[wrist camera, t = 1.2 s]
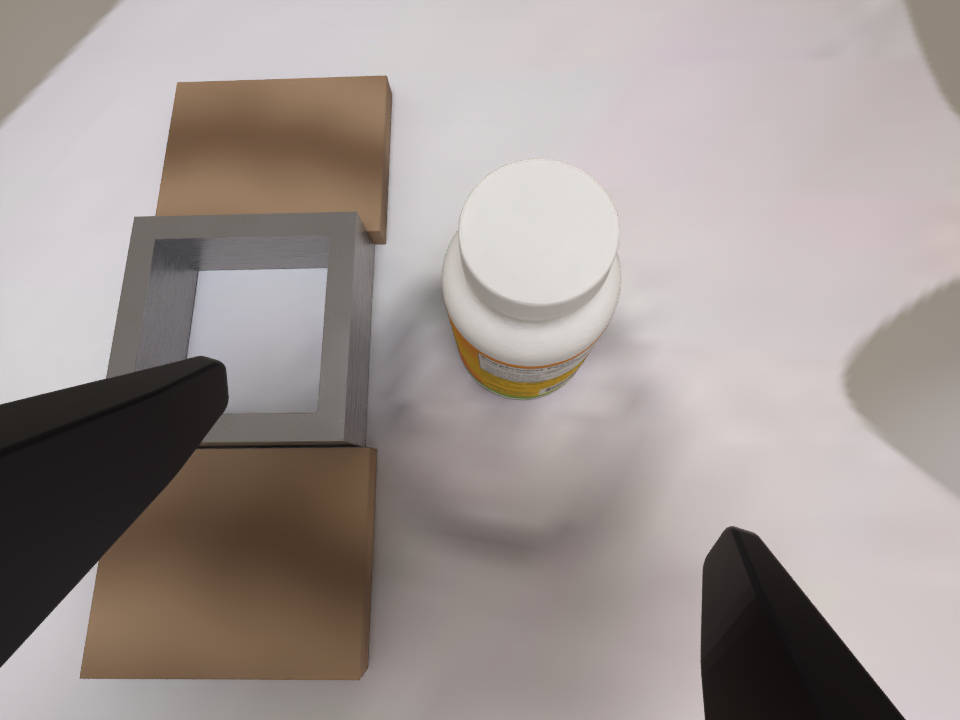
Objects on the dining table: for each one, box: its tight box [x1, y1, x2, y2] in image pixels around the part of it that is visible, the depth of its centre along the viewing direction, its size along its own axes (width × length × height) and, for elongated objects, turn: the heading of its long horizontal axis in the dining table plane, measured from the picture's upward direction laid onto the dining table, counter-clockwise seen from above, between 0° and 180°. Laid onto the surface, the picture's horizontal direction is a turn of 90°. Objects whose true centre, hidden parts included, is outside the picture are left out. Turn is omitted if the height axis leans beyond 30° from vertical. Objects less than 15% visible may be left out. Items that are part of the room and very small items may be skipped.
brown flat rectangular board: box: [80, 76, 392, 680], centre depth 22 cm, size 25×10×1 cm, turn 0°
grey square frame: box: [106, 211, 375, 449], centre depth 21 cm, size 9×9×3 cm
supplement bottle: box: [442, 159, 621, 400], centre depth 17 cm, size 5×5×10 cm
